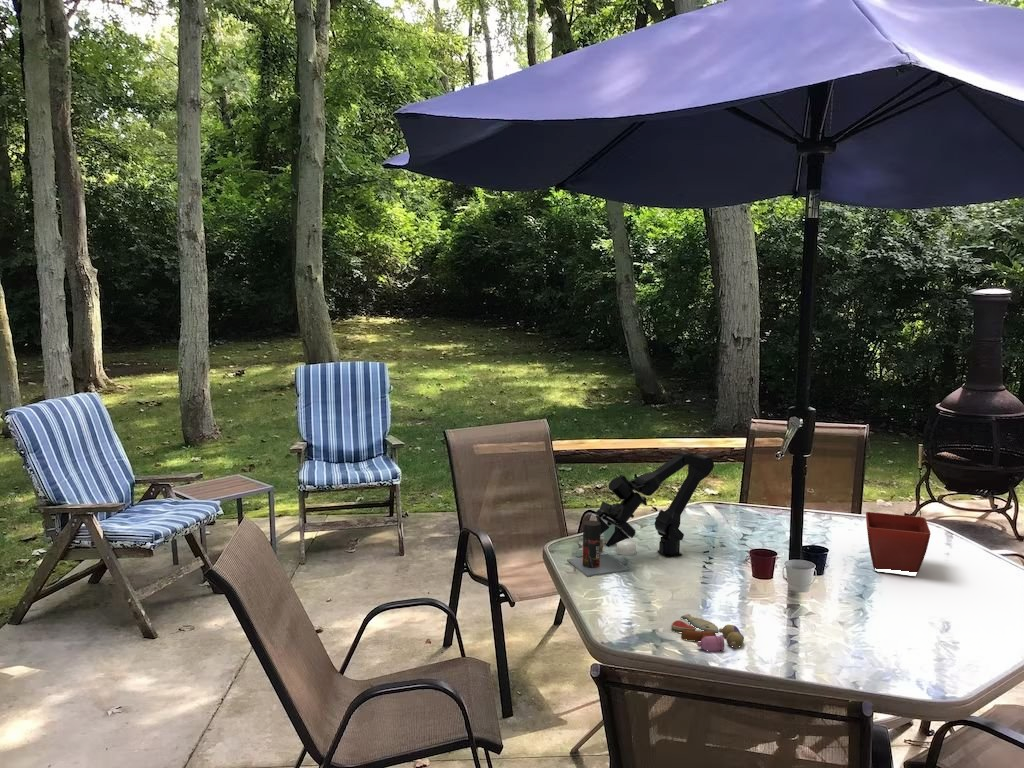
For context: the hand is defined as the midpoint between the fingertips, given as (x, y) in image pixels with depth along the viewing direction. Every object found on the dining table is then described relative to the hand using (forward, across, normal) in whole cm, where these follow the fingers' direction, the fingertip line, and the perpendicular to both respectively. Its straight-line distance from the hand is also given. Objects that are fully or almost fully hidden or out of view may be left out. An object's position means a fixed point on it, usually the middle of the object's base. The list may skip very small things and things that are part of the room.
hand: (600, 542), depth 279 cm
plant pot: (-58, +44, +72) cm, 102 cm away
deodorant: (+8, 0, +3) cm, 9 cm away
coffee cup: (-5, -19, +18) cm, 26 cm away
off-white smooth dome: (-5, -8, +17) cm, 20 cm away
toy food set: (+8, +61, +6) cm, 62 cm away
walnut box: (+2, -14, +10) cm, 17 cm away
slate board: (+6, 0, +5) cm, 8 cm away
